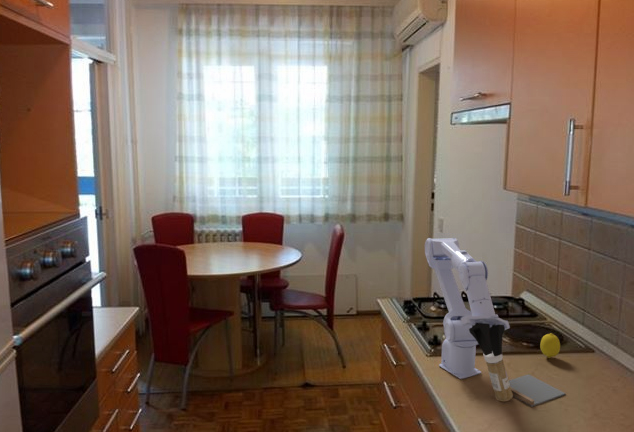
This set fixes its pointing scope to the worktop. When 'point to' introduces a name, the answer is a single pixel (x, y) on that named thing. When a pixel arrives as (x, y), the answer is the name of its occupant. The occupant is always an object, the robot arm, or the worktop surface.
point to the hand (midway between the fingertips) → (493, 354)
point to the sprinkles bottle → (498, 377)
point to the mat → (533, 390)
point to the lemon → (550, 345)
